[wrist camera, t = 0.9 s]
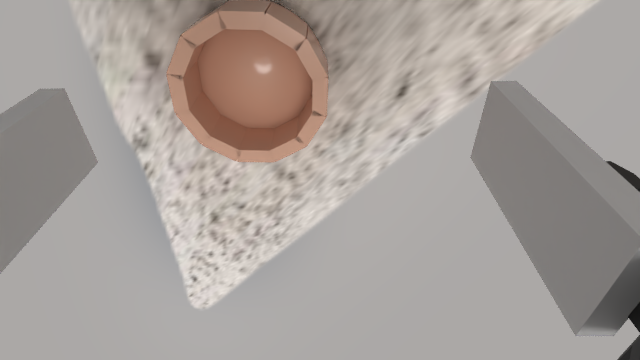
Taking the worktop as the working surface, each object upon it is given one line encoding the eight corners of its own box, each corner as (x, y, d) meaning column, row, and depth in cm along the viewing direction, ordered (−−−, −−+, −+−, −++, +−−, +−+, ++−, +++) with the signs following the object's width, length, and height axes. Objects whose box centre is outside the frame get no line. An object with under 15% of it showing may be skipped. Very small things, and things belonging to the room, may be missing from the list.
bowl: (174, -4, 30) (151, 9, 25) (329, 0, 30) (330, 13, 26) (200, 133, 37) (185, 160, 33) (324, 136, 37) (325, 163, 33)
